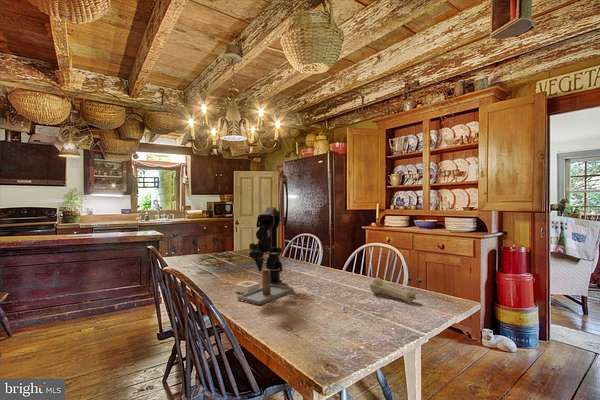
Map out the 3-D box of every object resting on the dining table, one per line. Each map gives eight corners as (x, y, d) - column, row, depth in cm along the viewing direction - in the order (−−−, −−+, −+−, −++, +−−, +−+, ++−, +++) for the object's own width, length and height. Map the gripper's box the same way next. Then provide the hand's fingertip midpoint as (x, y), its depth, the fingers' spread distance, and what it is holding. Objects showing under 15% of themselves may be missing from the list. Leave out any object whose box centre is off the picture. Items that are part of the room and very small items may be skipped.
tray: (272, 287, 168) (272, 283, 168) (293, 291, 160) (293, 287, 160) (237, 299, 147) (237, 296, 147) (259, 305, 139) (259, 301, 139)
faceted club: (377, 288, 160) (422, 302, 141) (367, 296, 155) (412, 311, 136) (374, 273, 159) (420, 285, 139) (364, 280, 153) (410, 294, 134)
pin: (266, 292, 156) (265, 268, 157) (272, 293, 154) (271, 269, 154) (260, 294, 153) (260, 270, 153) (267, 295, 151) (266, 271, 151)
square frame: (247, 287, 167) (247, 280, 167) (260, 290, 162) (259, 282, 162) (235, 292, 160) (235, 284, 160) (247, 294, 155) (247, 286, 155)
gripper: (265, 235, 166) (266, 264, 166) (240, 239, 151) (241, 271, 151) (282, 236, 160) (282, 266, 160) (257, 240, 144) (258, 274, 144)
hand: (266, 269), depth 154 cm, fingers open, 9 cm apart
